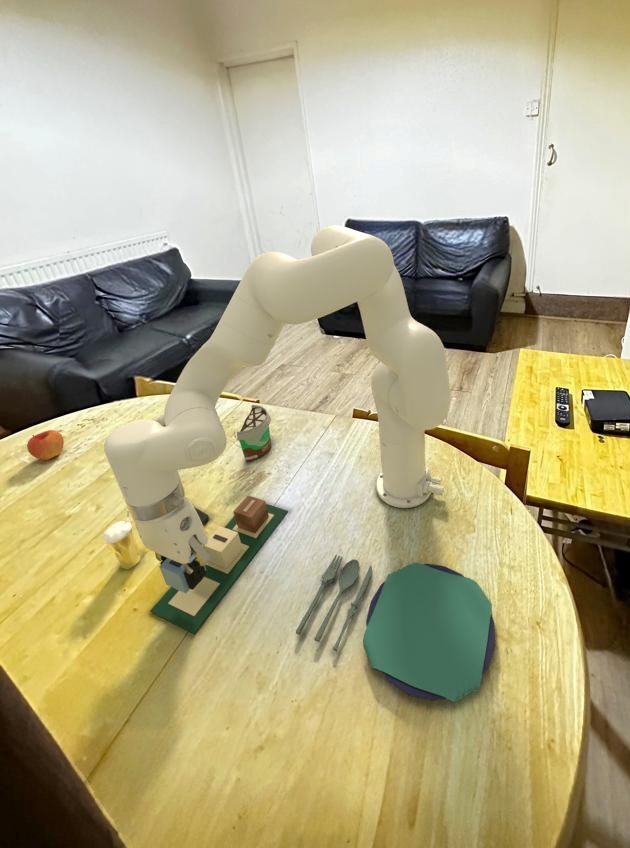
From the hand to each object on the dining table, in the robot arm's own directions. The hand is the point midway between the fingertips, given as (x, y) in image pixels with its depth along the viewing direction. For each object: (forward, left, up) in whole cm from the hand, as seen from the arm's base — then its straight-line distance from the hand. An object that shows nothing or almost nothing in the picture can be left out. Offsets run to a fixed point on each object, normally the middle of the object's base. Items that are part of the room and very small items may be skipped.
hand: (186, 575), depth 70 cm
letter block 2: (0, -16, -5) cm, 17 cm away
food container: (+13, -36, -5) cm, 39 cm away
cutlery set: (-35, -9, -5) cm, 37 cm away
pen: (+49, -31, -5) cm, 58 cm away
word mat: (0, -8, -5) cm, 10 cm away
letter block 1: (0, -8, -5) cm, 9 cm away
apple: (+66, -15, -5) cm, 68 cm away
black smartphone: (+15, -12, -5) cm, 20 cm away
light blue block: (0, 0, 0) cm, 0 cm away
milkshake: (+17, -1, -5) cm, 18 cm away
